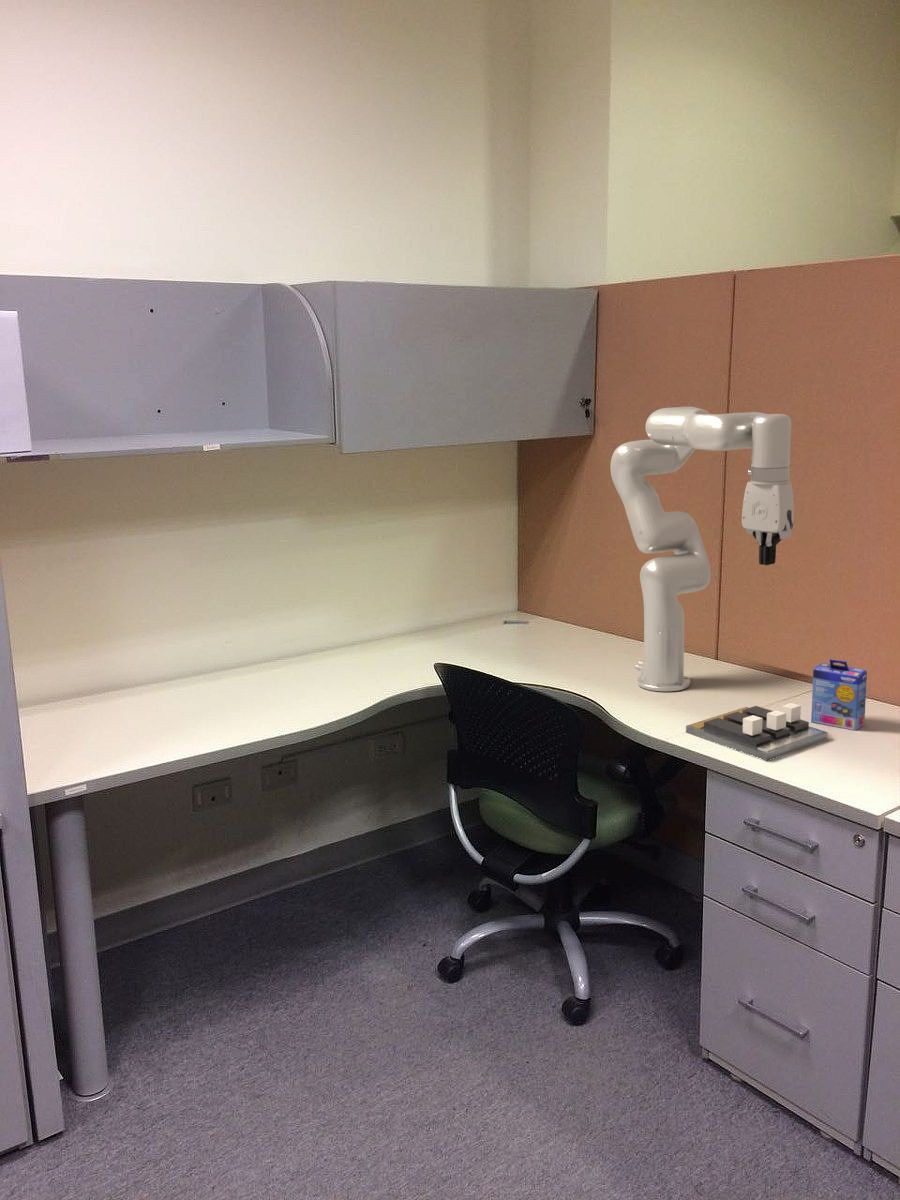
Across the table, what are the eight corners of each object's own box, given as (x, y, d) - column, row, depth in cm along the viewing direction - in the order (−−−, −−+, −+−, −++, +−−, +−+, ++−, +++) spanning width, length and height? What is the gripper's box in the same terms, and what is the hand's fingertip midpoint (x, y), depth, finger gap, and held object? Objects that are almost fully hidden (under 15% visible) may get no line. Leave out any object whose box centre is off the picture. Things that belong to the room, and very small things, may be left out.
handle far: (781, 719, 210) (781, 705, 209) (790, 716, 212) (791, 702, 211) (790, 722, 208) (791, 708, 207) (800, 719, 210) (800, 705, 209)
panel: (686, 732, 214) (686, 719, 213) (745, 713, 224) (746, 700, 224) (766, 761, 197) (767, 746, 196) (827, 739, 207) (828, 725, 206)
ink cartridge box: (809, 722, 217) (812, 658, 214) (818, 715, 221) (821, 651, 218) (856, 731, 211) (860, 665, 208) (865, 724, 215) (868, 658, 212)
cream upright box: (742, 732, 204) (742, 718, 203) (752, 729, 205) (752, 715, 204) (752, 735, 202) (752, 721, 201) (762, 732, 203) (762, 718, 203)
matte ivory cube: (766, 727, 206) (766, 713, 205) (776, 724, 208) (776, 710, 207) (776, 730, 204) (776, 716, 203) (785, 727, 206) (786, 713, 205)
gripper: (728, 475, 210) (726, 561, 214) (788, 479, 198) (785, 571, 202) (752, 471, 214) (750, 557, 218) (812, 476, 202) (809, 566, 206)
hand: (767, 563), depth 210 cm, fingers closed
